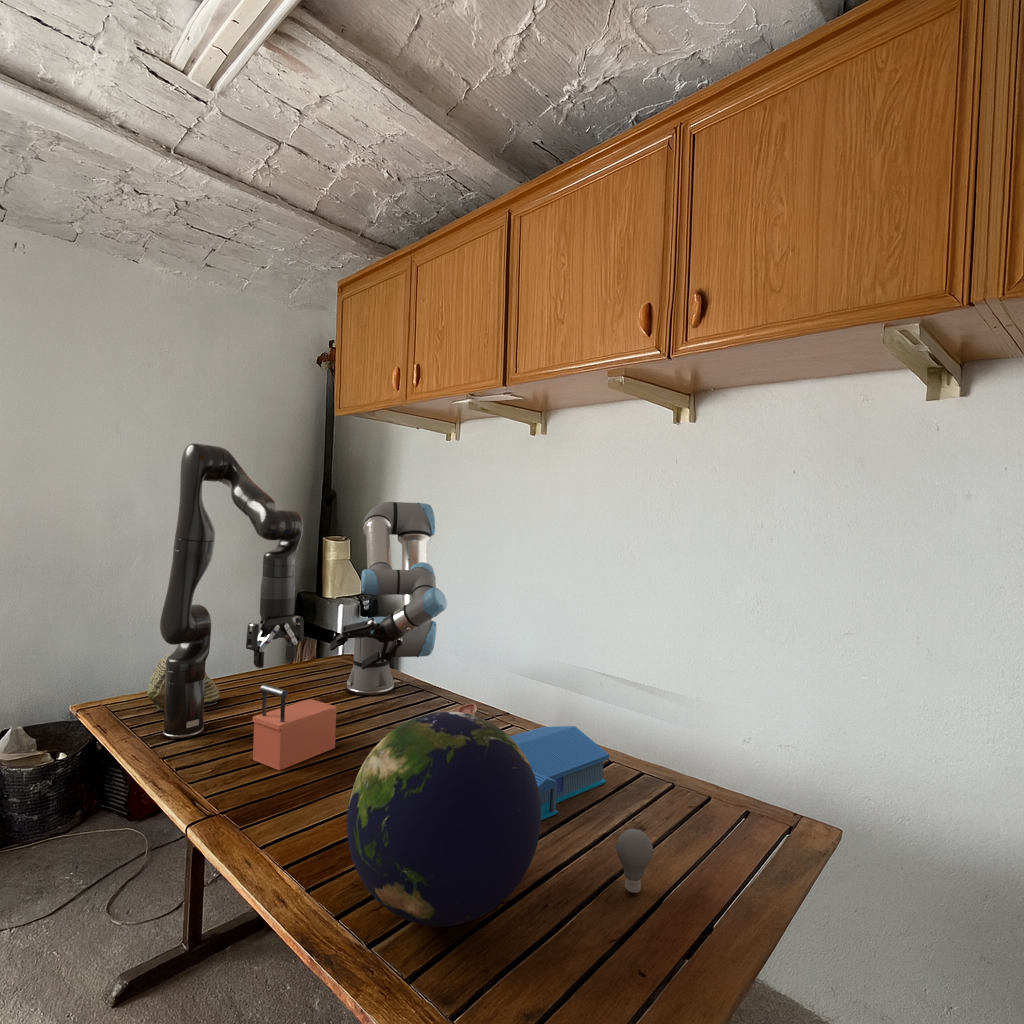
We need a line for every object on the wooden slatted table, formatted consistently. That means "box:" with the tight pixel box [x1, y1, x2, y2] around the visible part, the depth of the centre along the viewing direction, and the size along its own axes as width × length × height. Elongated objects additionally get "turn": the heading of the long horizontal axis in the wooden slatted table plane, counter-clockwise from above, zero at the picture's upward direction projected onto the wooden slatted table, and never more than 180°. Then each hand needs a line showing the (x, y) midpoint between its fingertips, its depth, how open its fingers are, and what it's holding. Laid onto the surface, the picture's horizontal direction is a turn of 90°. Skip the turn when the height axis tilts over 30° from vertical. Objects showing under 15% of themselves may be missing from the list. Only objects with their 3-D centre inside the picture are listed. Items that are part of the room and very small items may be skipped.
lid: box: [252, 683, 337, 730], centre depth 155 cm, size 17×10×9 cm, turn 148°
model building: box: [509, 725, 610, 822], centre depth 140 cm, size 39×24×10 cm, turn 132°
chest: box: [252, 710, 337, 771], centre depth 155 cm, size 17×10×9 cm, turn 148°
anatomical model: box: [444, 702, 478, 716], centre depth 183 cm, size 13×4×12 cm
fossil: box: [147, 654, 221, 712], centre depth 185 cm, size 9×18×15 cm, turn 132°
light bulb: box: [615, 828, 654, 894], centre depth 106 cm, size 6×6×10 cm
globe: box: [346, 711, 542, 928], centre depth 99 cm, size 30×30×30 cm
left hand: (275, 663), depth 149 cm, fingers open, 8 cm apart
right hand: (347, 656), depth 193 cm, fingers open, 13 cm apart
